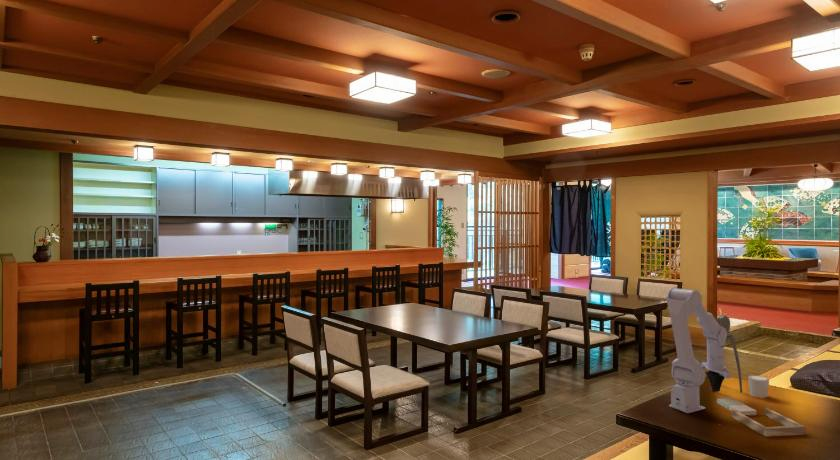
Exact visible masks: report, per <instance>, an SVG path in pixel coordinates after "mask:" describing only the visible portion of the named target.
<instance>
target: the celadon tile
mask: <svg viewBox="0 0 840 460" xmlns="http://www.w3.org/2000/svg"><path fill="white" fill-rule="evenodd" d="M716 403H717V404H718V405H719V406H722V407H723V406H724V407H723V408H725V409H727V410H729V405H741V404H744V403H743V402H741V401H738V400H737V399H735V398H733V397H729V398H728V397H726V398H717V399H716Z"/></svg>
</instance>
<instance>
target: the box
mask: <svg viewBox="0 0 840 460" xmlns="http://www.w3.org/2000/svg"><path fill="white" fill-rule="evenodd" d="M763 415H764V416H765V415H766V417H767V416H768V417H767V418H769V419H771V420H773V421H775V422H777V423H779V424H780V425H779V426H767V427H766V425H763V424H762V423H760V422H757V421H756V420H754V419H752V418H750V417H749V416H745V415H743V414H741V413H740V412H738V411H736V410H731V411H730V417H731V418H732V417H733V419H734V420H736V421H737V422H739V423H741V424H743V425H744V426H747V428H748V427H749V428H750V429H752V430H753V431H755V432H757V433H759V434H760V435H762V436H764V437H765V438H766V437H769V438H770V437H781V436H782V437H783V436H785V437H786V436H799V435H800V436H801V435H806V434H807V433H806V432H807V431H806V426H805V425H803V424H801V423H799V422H797V421H795V420H793V419H791V418H789V417H788V416H785V415H782V413H779V412H777V411H774V410H773V409H770V408H769V407H764V408H763ZM781 425H782V426H781Z"/></svg>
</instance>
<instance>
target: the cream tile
mask: <svg viewBox="0 0 840 460" xmlns="http://www.w3.org/2000/svg"><path fill="white" fill-rule="evenodd" d="M730 410H736V411H738V412H740V413H741V414H743V415H745V416H746V415H748V416H757V410H756V409H754V408H753V407H750V406H748V405H747V404H744V403H743V404H741V405H729V409H728V411H730Z"/></svg>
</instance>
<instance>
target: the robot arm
mask: <svg viewBox="0 0 840 460" xmlns="http://www.w3.org/2000/svg"><path fill="white" fill-rule="evenodd" d="M702 297H703V296H702V295H701V293H700V291H699V290H696V289H685V288H676V287H670V289H669V290H668V292H667V295H666V297H665V298H666V303H667V309H668V313H669V316H670V322H671V323H670V324H671V327H672V328H671V329H672V332H673V333H672V334H673V340H674V344H675V350H676V354H677V355H676V356H677V358H675V359H673V361H671V376H672V378H673V379H674V381H675V383H676V384H675V385H674V386H672V388H671V389H670V404H668V406H669V407H670V408H672V409H676V410H678V411H681V412H683V413H686V414H690V413H695V412H698V411H701V410H705V409H706V407H705V406H702V405H700V398H701V397H700V386H702V385H703V384H704V382H705V380H706V376H707V379H708V381H709V384H710V387H711V388H712V391H711V392H720V390H721V387H722V383H723V382H724V380H725V379H731V378H732V377H731V375H732V374H731V372H729V370H727V368H728V367H727V366H725V346H726V344H727V341H726V338H727V331H726V329H725V328H724V327H723V326H720V325H719V324H718V322H717V321H716V320H717V318H715V317H714V314H712V312H708V311H706V309H705V306H704V305H703V303H702V301H703V299H702ZM693 314H694V315H695V316H696V321H697V323H698V325H699V326H700V328H701V329H702V334H703V335H702V336H703V337H704V338H705V339H706V361H702V362H700V361H699V360H698V359H697V358H695V354H694V350H693V345H692V339H691V333H690V328H689V322H688V317H689V316H692V315H693ZM724 345H725V346H724ZM703 368H704V369H706V370H707V371H705V370H704V369H703ZM711 388H710V389H711Z"/></svg>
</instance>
